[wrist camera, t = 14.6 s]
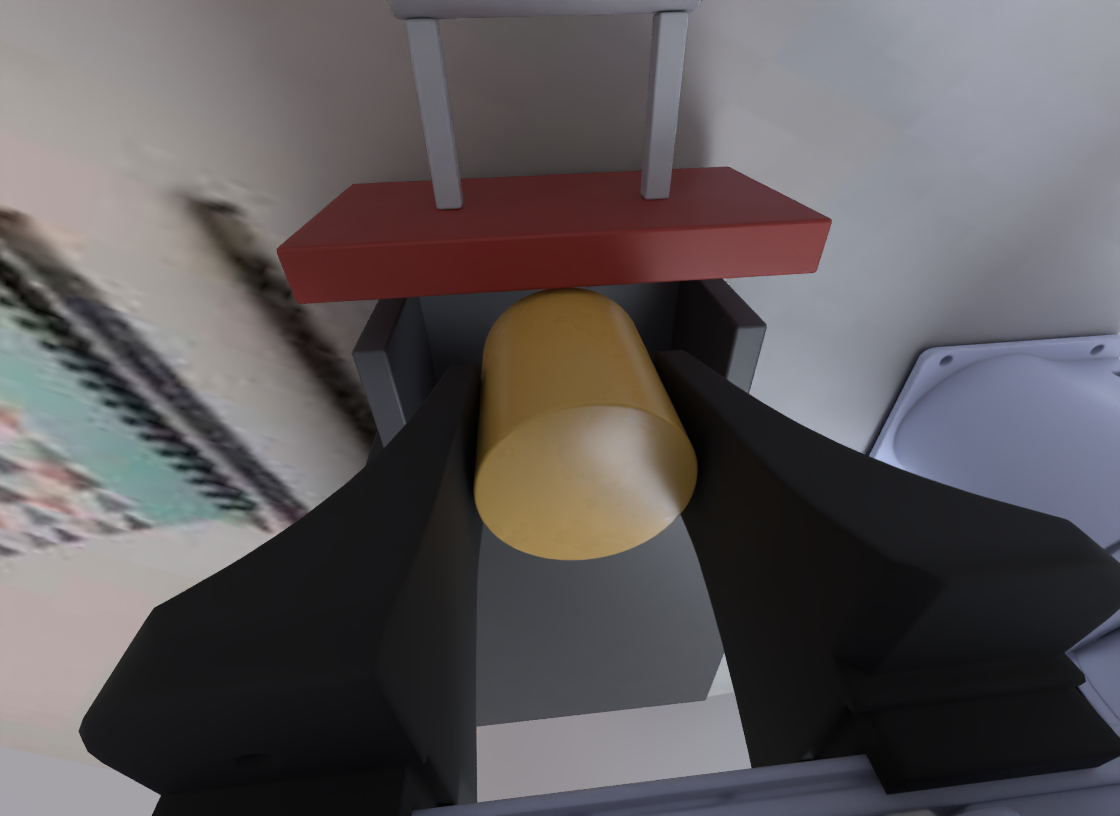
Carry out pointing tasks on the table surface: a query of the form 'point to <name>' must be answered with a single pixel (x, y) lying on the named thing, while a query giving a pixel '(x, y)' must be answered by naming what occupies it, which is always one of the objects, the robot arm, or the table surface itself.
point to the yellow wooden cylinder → (576, 431)
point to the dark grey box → (591, 629)
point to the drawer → (546, 233)
